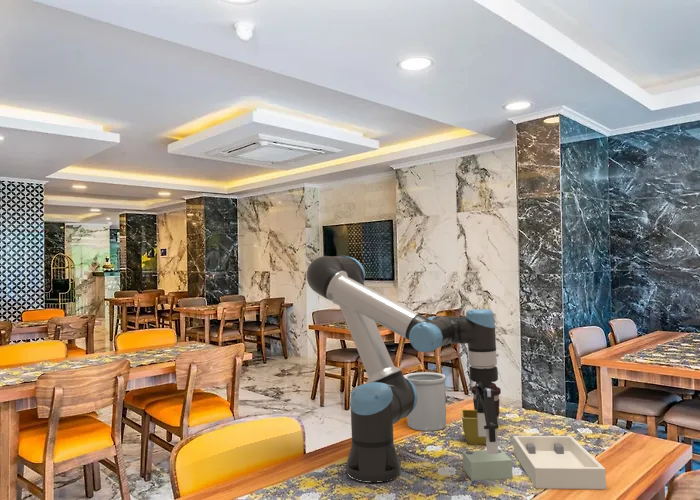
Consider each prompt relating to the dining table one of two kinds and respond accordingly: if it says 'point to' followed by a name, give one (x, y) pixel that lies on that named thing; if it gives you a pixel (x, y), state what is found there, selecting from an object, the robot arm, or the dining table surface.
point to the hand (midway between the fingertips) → (487, 444)
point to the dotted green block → (487, 465)
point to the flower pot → (471, 427)
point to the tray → (558, 463)
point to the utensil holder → (428, 401)
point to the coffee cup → (496, 397)
